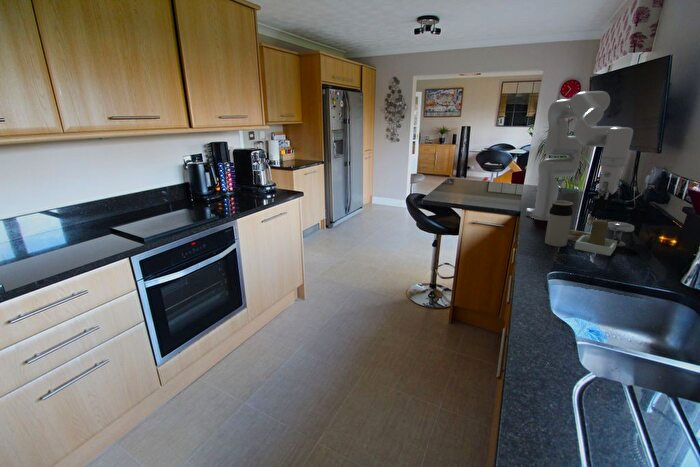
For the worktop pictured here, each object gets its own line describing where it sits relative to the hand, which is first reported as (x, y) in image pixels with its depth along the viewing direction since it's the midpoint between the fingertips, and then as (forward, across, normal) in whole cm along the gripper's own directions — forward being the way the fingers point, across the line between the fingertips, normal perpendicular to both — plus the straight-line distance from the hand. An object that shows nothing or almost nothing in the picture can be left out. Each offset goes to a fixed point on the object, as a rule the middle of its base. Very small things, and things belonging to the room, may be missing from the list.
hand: (602, 206), depth 128 cm
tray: (+17, -1, -1) cm, 17 cm away
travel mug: (+18, -5, +12) cm, 22 cm away
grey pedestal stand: (+17, +10, -6) cm, 21 cm away
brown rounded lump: (+17, 0, -1) cm, 17 cm away
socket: (+18, +9, +7) cm, 21 cm away
